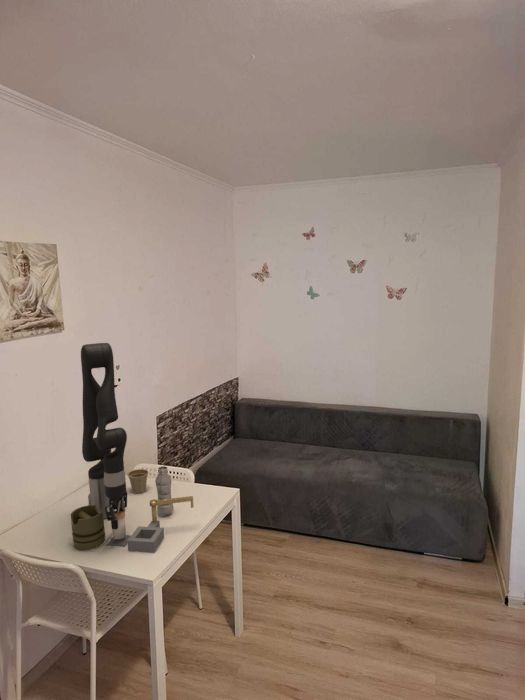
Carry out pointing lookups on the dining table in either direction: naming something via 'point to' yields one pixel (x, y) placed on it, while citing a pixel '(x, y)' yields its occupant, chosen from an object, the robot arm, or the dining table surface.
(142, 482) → the flower pot
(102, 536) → the piston
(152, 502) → the lever
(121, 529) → the plug
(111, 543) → the mat
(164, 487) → the plastic bottle
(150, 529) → the socket block
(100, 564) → the dining table surface
